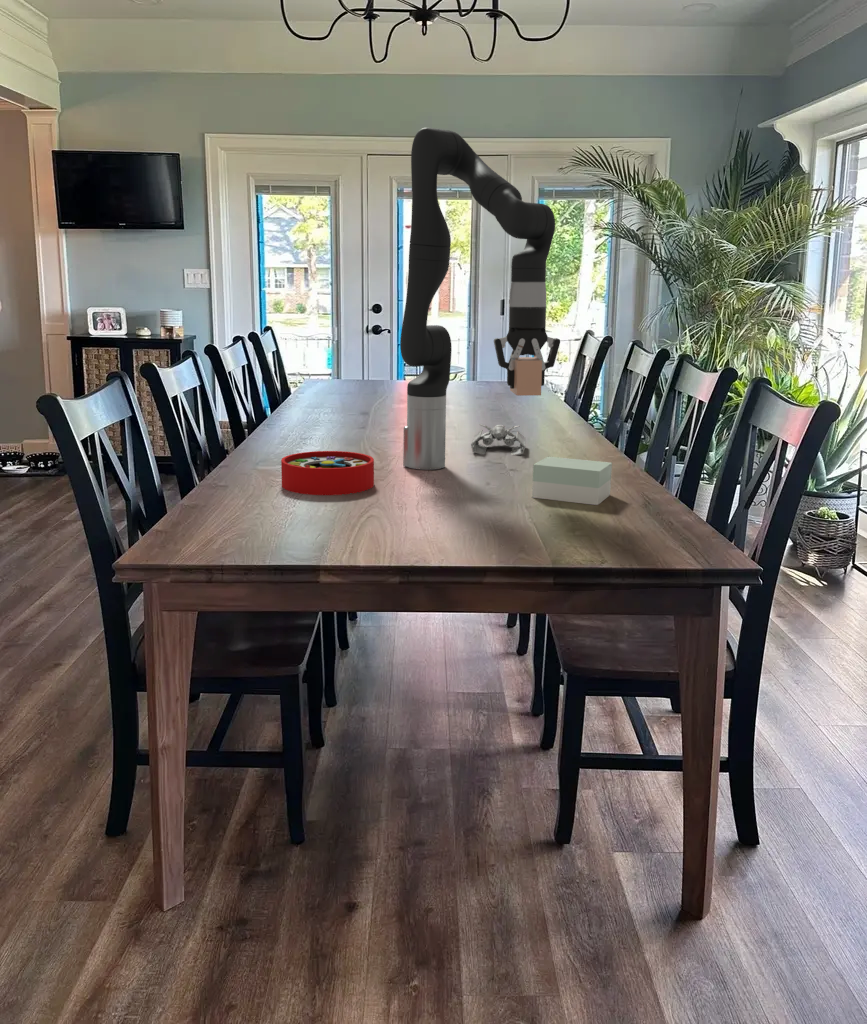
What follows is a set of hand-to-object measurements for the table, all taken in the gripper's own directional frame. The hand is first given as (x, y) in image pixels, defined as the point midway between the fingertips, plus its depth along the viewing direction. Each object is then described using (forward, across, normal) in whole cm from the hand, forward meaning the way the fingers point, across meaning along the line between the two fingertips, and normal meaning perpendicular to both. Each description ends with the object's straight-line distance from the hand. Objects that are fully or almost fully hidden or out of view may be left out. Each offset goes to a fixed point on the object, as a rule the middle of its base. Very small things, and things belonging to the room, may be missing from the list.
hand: (525, 387), depth 194 cm
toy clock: (+22, -42, +6) cm, 48 cm away
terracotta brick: (+1, 0, 0) cm, 1 cm away
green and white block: (+22, +10, -5) cm, 25 cm away
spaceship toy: (+22, +1, +48) cm, 53 cm away
